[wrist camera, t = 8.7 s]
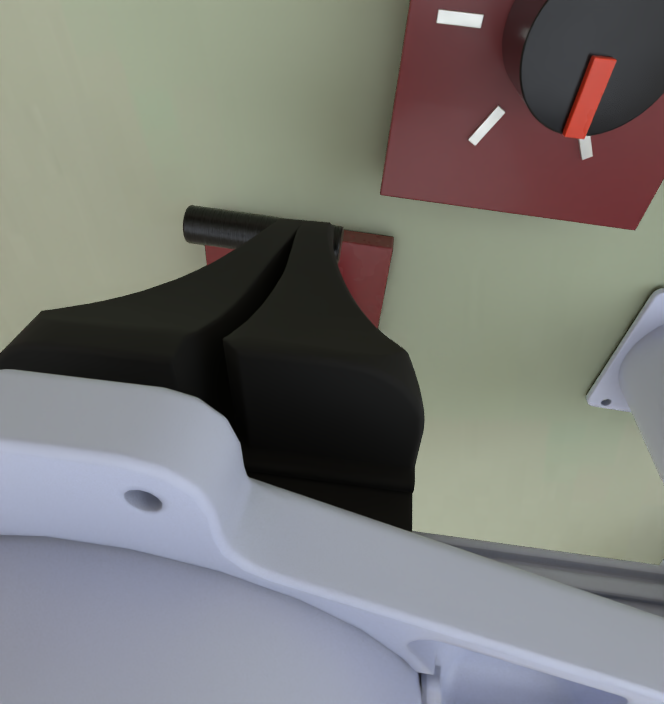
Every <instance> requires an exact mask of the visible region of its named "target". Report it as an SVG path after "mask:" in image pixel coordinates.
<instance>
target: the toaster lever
mask: <svg viewBox="0 0 664 704" xmlns="http://www.w3.org/2000/svg"><path fill="white" fill-rule="evenodd" d="M280 219H281V218H279V217H272V216H265V215H258V214H251V213H244V212H237V211H229V210H222V209H215V208H208V207H201V206H194V205H191V206H189V207H188V208H187V209H186V212H185V215H184V220H183V233H184V237H185V240H186V241H187V242H189V243H193V244H200V245H207V246H214V247H221V248H228V249H236V248H238V247H240V246H241V245H243V244H244V243H245V242H247V241H248V240H250V239H251V238H253V237H254V236H256V235H257V234H259V233H260V232H262V231H263V230H264V229H266V228H267V227H269V226H270V225H272V224H273V223H275V222H276V221H278V220H280ZM282 219H286V218H282ZM332 226H333V227H334V239H333V250H334V254H335V257H336V261H337V264H338V263H339V260H340V255H341V249H342V242H343V232H344V229H343V227H342V226H335V225H332Z"/></svg>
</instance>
